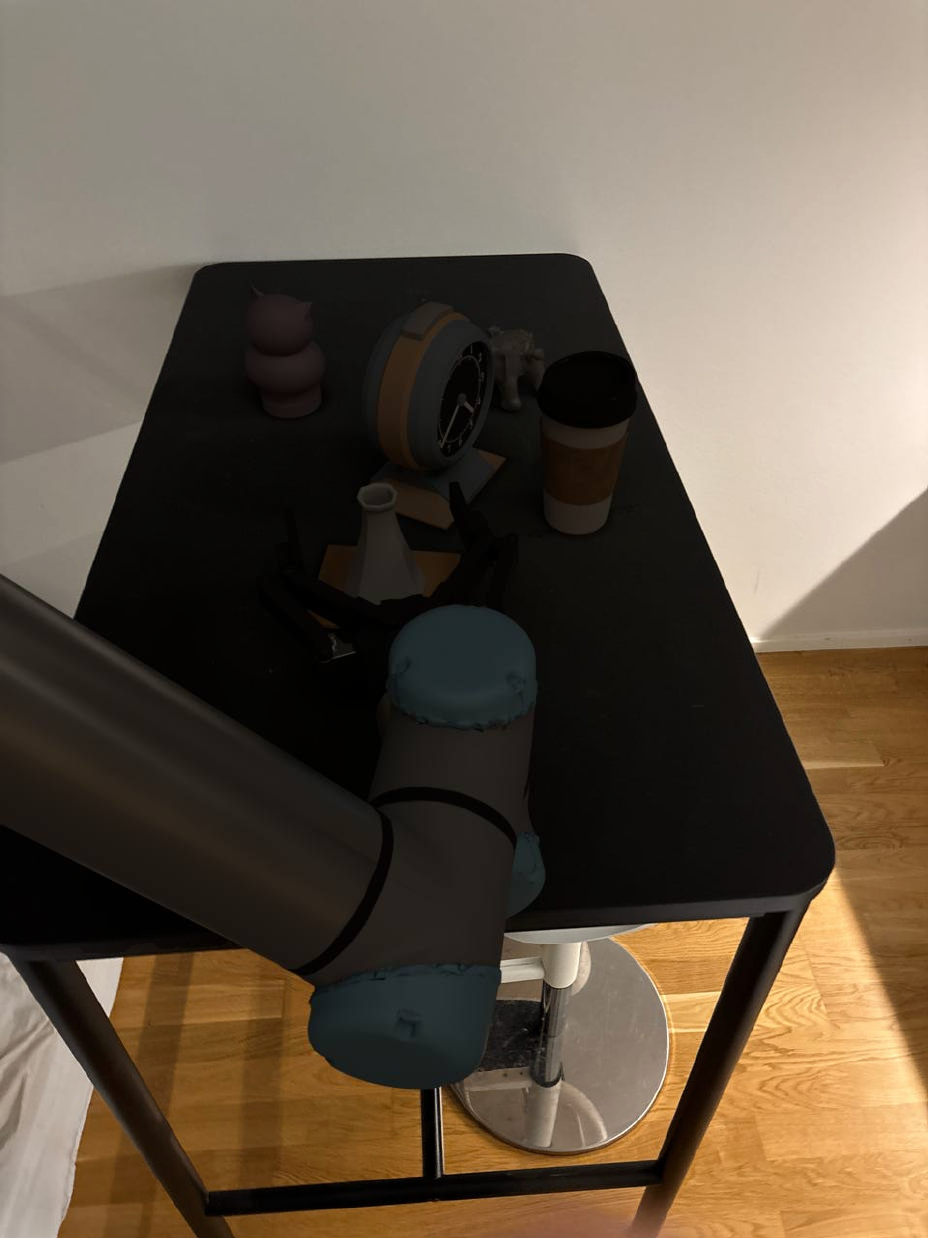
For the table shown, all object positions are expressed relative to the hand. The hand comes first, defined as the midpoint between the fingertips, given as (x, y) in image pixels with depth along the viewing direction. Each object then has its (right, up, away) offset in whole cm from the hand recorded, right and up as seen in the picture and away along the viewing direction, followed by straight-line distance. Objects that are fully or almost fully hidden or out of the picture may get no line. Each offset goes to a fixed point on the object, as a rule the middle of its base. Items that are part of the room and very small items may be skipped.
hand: (373, 507), depth 80 cm
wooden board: (+1, -7, +4) cm, 8 cm away
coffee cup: (+18, 0, +11) cm, 21 cm away
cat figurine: (-11, +14, +25) cm, 31 cm away
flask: (+1, -7, +4) cm, 8 cm away
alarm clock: (+4, +4, +15) cm, 17 cm away
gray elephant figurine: (+11, +14, +25) cm, 30 cm away
